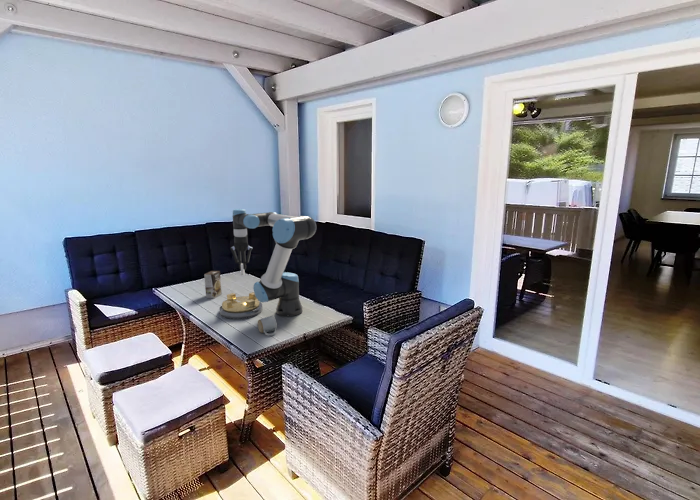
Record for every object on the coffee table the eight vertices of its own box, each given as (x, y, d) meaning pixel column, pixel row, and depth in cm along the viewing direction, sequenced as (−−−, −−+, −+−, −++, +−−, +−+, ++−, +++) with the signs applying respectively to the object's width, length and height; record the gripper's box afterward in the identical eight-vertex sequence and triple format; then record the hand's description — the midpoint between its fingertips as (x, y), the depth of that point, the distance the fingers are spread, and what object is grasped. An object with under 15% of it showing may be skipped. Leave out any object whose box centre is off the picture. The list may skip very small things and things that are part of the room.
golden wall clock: (261, 299, 226) (260, 290, 225) (257, 312, 205) (256, 302, 204) (226, 300, 223) (225, 292, 222) (218, 314, 203) (217, 304, 202)
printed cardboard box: (214, 298, 236) (212, 274, 233) (205, 298, 237) (203, 274, 234) (222, 294, 245) (220, 270, 241) (213, 293, 246) (211, 270, 243)
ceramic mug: (257, 330, 189) (256, 316, 188) (272, 326, 194) (271, 313, 192) (264, 338, 181) (263, 324, 179) (280, 334, 185) (279, 320, 183)
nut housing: (264, 303, 228) (264, 298, 227) (260, 318, 205) (259, 313, 204) (224, 305, 225) (224, 300, 224) (215, 320, 202) (215, 315, 201)
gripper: (253, 234, 218) (255, 272, 223) (231, 234, 218) (233, 272, 223) (250, 236, 211) (252, 276, 216) (227, 236, 211) (230, 276, 216)
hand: (243, 274), depth 220 cm, fingers closed
